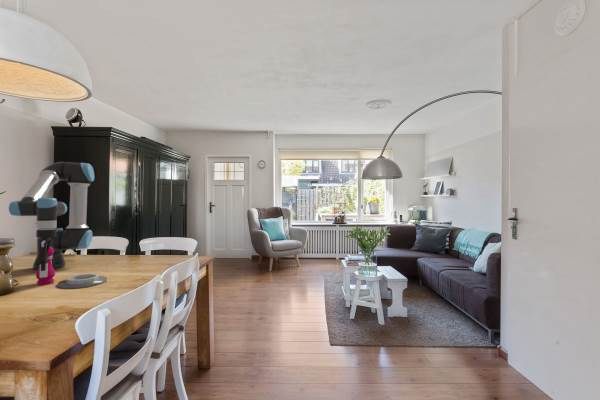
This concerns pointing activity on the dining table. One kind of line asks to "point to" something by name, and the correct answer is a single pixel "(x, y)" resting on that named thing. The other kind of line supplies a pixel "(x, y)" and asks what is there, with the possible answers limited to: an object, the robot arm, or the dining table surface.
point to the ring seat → (82, 281)
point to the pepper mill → (50, 271)
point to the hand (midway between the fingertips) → (45, 275)
